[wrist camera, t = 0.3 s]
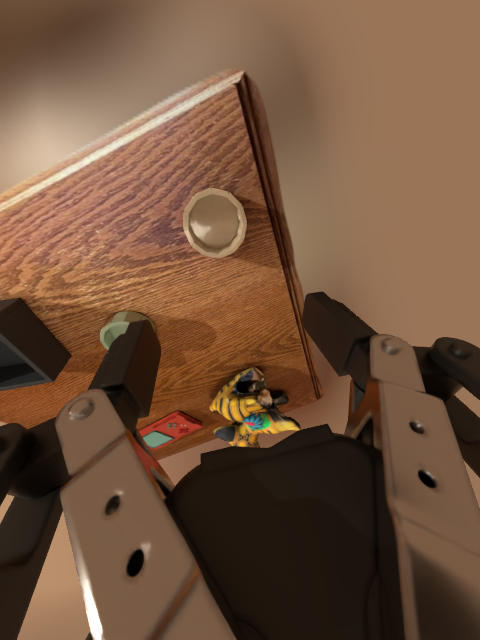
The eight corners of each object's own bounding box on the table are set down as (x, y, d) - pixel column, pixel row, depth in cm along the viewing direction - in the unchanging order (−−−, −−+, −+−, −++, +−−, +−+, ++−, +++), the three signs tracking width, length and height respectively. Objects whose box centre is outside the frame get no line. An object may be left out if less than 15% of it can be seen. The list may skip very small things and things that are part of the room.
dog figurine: (246, 348, 41) (190, 395, 44) (257, 392, 29) (181, 450, 33) (299, 394, 48) (247, 431, 52) (323, 443, 37) (255, 486, 41)
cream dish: (173, 201, 20) (170, 204, 18) (230, 177, 19) (234, 177, 17) (200, 258, 24) (200, 266, 22) (248, 239, 23) (253, 244, 21)
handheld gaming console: (203, 428, 47) (155, 450, 49) (203, 423, 48) (156, 445, 50) (177, 415, 41) (126, 441, 44) (178, 410, 42) (127, 436, 45)
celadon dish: (97, 315, 26) (89, 326, 24) (146, 307, 26) (143, 318, 24) (119, 348, 29) (113, 360, 28) (161, 341, 30) (159, 352, 28)
